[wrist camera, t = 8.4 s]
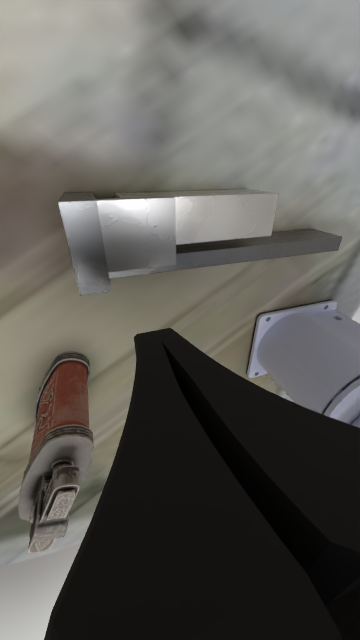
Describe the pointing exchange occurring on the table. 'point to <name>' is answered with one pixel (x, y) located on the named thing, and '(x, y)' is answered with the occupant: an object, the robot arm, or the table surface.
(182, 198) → the bar
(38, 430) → the lighter
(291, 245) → the bracket
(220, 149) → the table surface
